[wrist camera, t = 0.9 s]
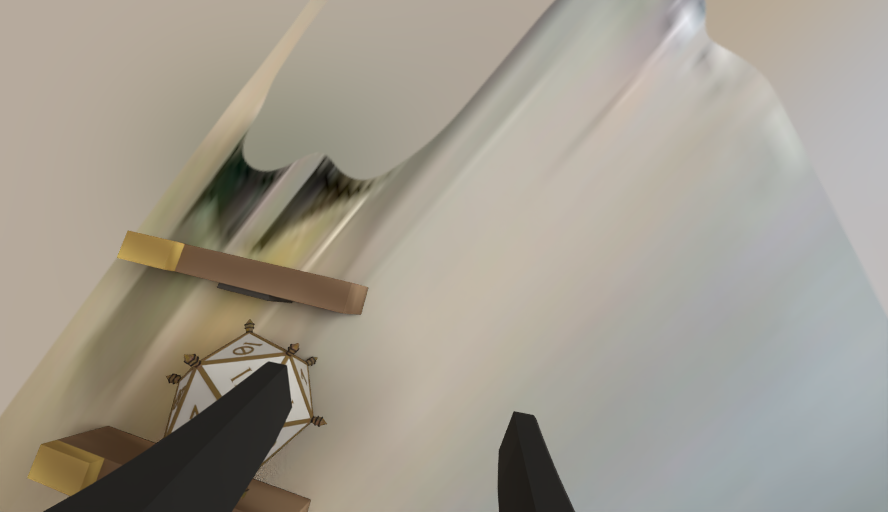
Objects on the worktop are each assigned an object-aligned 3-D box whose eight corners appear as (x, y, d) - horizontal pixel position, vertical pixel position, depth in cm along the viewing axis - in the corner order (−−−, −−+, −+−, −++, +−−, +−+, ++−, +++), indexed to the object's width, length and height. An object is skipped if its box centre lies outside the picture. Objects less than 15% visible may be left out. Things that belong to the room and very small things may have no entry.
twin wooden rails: (301, 532, 21) (262, 576, 18) (97, 454, 24) (27, 477, 21) (368, 287, 24) (346, 281, 20) (177, 243, 27) (127, 230, 23)
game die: (302, 402, 27) (147, 510, 19) (267, 305, 26) (86, 376, 18) (377, 419, 22) (206, 580, 14) (337, 298, 20) (125, 394, 12)
